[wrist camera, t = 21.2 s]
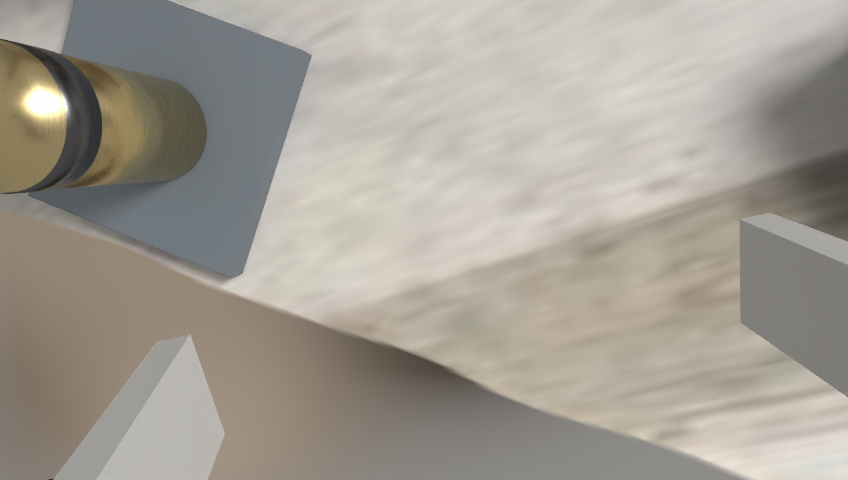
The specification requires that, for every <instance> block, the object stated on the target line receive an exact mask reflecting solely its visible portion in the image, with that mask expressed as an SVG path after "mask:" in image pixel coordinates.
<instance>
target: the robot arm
mask: <svg viewBox="0 0 848 480" xmlns="http://www.w3.org/2000/svg"><path fill="white" fill-rule="evenodd" d="M740 294H741V323H742V324H744V325H745V326H747V327H748V328H749V329H751V330H752V331H754V332H755V333H757V334H758V335H759V336H761V337H762V338H764V339H765V340H767V341H768V342H770V343H771V344H772V345H774V346H775V347H777V348H778V349H780V350H781V351H782V352H784V353H785V354H787V355H788V356H790V357H791V358H792V359H794V360H795V361H797V362H798V363H800V364H801V365H803V366H804V367H805V368H807V369H808V370H810V371H811V372H813V373H814V374H815V375H817V376H818V377H820V378H821V379H823V380H824V381H826V382H827V383H828V384H830V385H831V386H833V387H834V388H836V389H837V390H838V391H840V392H841V393H843V394H844V395H846V396H847V397H848V241H845V240H842V239H839V238H837V237H834V236H831V235H829V234H826V233H823V232H821V231H818V230H815V229H813V228H810V227H807V226H805V225H802V224H799V223H797V222H794V221H791V220H789V219H786V218H783V217H781V216H778V215H775V214H773V213H767V214H763V215H758V216H753V217H748V218H744V219H740ZM224 435H225V433H224V430H223V427H222V424H221V421H220V419H219V416H218V413H217V410H216V407H215V405H214V402H213V399H212V396H211V393H210V390H209V387H208V384H207V382H206V379H205V376H204V373H203V371H202V367H201V365H200V362H199V359H198V356H197V354H196V350H195V348H194V345H193V342H192V339H191V336H190V335H185V336H181V337H176V338H172V339H167V340H162V341H157V342H156V343H155V344H154V346H153V347H152V348H151V350H150V351H149V352H148V354H147V355H146V357H145V358H144V359H143V360H142V362H141V363H140V364H139V366H138V367H137V369H136V370H135V371H134V372H133V374H132V375H131V377H130V378H129V379H128V380H127V382H126V383H125V385H124V386H123V387H122V388H121V390H120V391H119V393H118V394H117V395H116V397H115V398H114V399H113V401H112V402H111V403H110V405H109V406H108V407H107V409H106V410H105V411H104V413H103V414H102V415H101V417H100V418H99V419H98V421H97V422H96V423H95V425H94V426H93V427H92V429H91V430H90V431H89V433H88V434H87V435H86V437H85V438H84V439H83V441H82V442H81V443H80V445H79V446H78V447H77V449H76V450H75V451H74V453H73V454H72V455H71V457H70V458H69V459H68V461H67V462H66V464H65V465H64V466H63V468H62V469H61V470H60V471H59V473H58V474H57V475H56V477H55V478H54V479H49V480H208V478H209V475H210V472H211V470H212V467H213V464H214V462H215V459H216V456H217V454H218V451H219V448H220V446H221V443H222V440H223V438H224Z"/></svg>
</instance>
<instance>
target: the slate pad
mask: <svg viewBox="0 0 848 480" xmlns="http://www.w3.org/2000/svg"><path fill="white" fill-rule="evenodd" d="M62 55H67V56H71V57H75V58H80V59H84V60H88V61H92V62H97V63H101V64H105V65H110V66H114V67H118V68H122V69H127V70H131V71H135V72H140V73H144V74H148V75H152V76H157V77H161V78H165V79H169V80H172V81H174V82H176V83H179V84H180V85H182V86H183V87H185V88H186V89H187V90H188V91H189V92H190V93H191V94H192V95H193V96H194V97H195V98H196V100H197V101H198V103H199V105H200V106H201V108H202V111H203V113H204V116H205V120H206V126H207V139H206V145H205V149H204V152H203V154H202V156H201V158H200V160H199V161H198V163H197V164H196V166H195V167H194V168H193V169H192V170H191V171H189V172H188V173H187V174H185V175H183V176H182V177H179V178H177V179H174V180H170V181H158V182H144V183H131V184H117V185H104V186H91V187H77V188H64V189H57V190H51V191H39V192H29V194H28V196H31V197H33V198H36V199H38V200H40V201H43V202H45V203H48V204H50V205H53V206H55V207H58V208H60V209H63V210H65V211H67V212H70V213H72V214H75V215H77V216H80V217H82V218H85V219H87V220H89V221H92V222H94V223H97V224H99V225H102V226H104V227H107V228H109V229H111V230H114V231H116V232H119V233H121V234H124V235H126V236H129V237H131V238H134V239H136V240H138V241H141V242H143V243H146V244H148V245H151V246H153V247H156V248H158V249H160V250H163V251H165V252H168V253H170V254H173V255H175V256H178V257H180V258H183V259H185V260H187V261H190V262H192V263H195V264H197V265H200V266H202V267H205V268H207V269H209V270H212V271H214V272H217V273H219V274H222V275H224V276H227V277H229V278H233V277H235V276H238V275H240V274H242V273H243V270H244V267H245V264H246V260H247V257H248V254H249V251H250V248H251V245H252V242H253V238H254V235H255V232H256V229H257V226H258V223H259V220H260V216H261V213H262V210H263V207H264V204H265V201H266V197H267V194H268V191H269V188H270V185H271V182H272V179H273V175H274V172H275V169H276V166H277V163H278V160H279V156H280V153H281V150H282V147H283V144H284V141H285V138H286V134H287V131H288V128H289V125H290V122H291V119H292V115H293V112H294V109H295V106H296V103H297V100H298V97H299V93H300V90H301V87H302V84H303V81H304V78H305V75H306V71H307V68H308V65H309V62H310V59H311V56H312V55H310V54H308V53H306V52H305V51H303V50H300V49H298V48H295V47H292V46H289V45H287V44H284V43H281V42H279V41H276V40H273V39H270V38H268V37H265V36H262V35H260V34H257V33H254V32H251V31H249V30H246V29H243V28H241V27H238V26H235V25H232V24H230V23H227V22H224V21H222V20H219V19H216V18H213V17H211V16H208V15H205V14H203V13H200V12H197V11H194V10H192V9H189V8H186V7H184V6H181V5H178V4H175V3H173V2H170V1H167V0H75V1H74V6H73V10H72V14H71V18H70V22H69V27H68V31H67V35H66V39H65V43H64V48H63V52H62Z"/></svg>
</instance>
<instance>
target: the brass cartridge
mask: <svg viewBox="0 0 848 480" xmlns="http://www.w3.org/2000/svg"><path fill="white" fill-rule="evenodd" d="M206 139H207V126H206V120H205V116H204V113H203V111H202V108H201V106H200V105H199V103H198V101H197V100H196V98H195V97H194V96H193V95H192V94H191V93H190V92H189V91H188V90H187V89H186V88H185V87H183V86H182V85H180V84H179V83H176V82H174V81H172V80H169V79H165V78H161V77H157V76H152V75H148V74H144V73H140V72H135V71H131V70H127V69H122V68H118V67H114V66H110V65H105V64H101V63H97V62H92V61H88V60H84V59H80V58H75V57H71V56H67V55H62V54H58V53H55V52H53V51H49V50H46V49H42V48H38V47H34V46H29V45H25V44H21V43H17V42H12V41H8V40H3V39H0V193H1V194H13V193H26V192H39V191H51V190H57V189H64V188H77V187H91V186H104V185H117V184H131V183H144V182H158V181H170V180H174V179H177V178H179V177H182V176H183V175H185V174H187V173H188V172H189V171H191V170H192V169H193V168H194V167H195V166H196V164H197V163H198V161H199V160H200V158H201V156H202V154H203V152H204V149H205V145H206Z"/></svg>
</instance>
